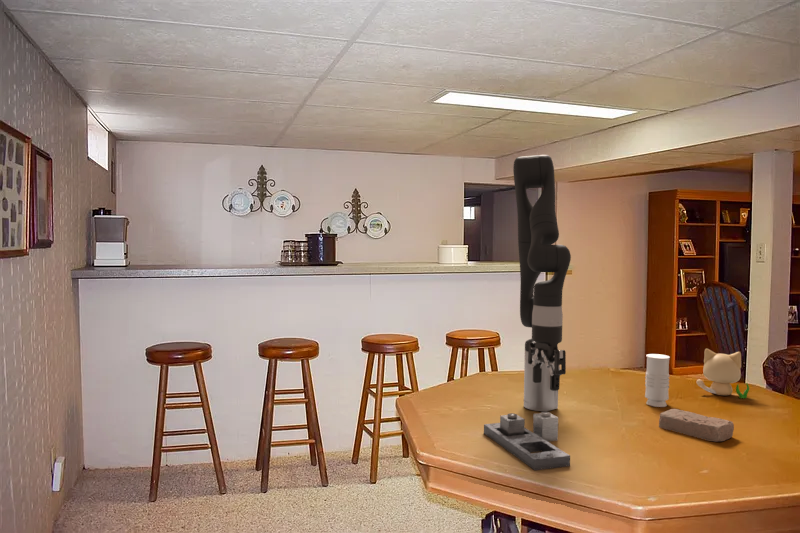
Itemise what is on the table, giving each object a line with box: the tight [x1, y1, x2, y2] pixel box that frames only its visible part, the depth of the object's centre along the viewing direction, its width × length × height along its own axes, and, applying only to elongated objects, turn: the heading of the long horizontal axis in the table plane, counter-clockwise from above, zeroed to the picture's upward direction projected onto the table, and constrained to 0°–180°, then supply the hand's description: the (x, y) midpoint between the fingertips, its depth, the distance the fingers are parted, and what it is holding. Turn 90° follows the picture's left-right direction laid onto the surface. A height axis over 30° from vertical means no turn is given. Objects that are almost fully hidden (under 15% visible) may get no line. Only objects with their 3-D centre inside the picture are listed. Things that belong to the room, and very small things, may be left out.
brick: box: [658, 408, 735, 443], centre depth 162 cm, size 17×8×5 cm, turn 38°
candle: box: [644, 353, 671, 408], centre depth 188 cm, size 7×7×15 cm
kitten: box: [696, 348, 750, 399], centre depth 200 cm, size 15×10×15 cm
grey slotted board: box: [483, 422, 571, 471], centre depth 149 cm, size 9×26×2 cm, turn 18°
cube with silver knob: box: [532, 411, 559, 443], centre depth 156 cm, size 4×4×7 cm
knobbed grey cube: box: [499, 412, 526, 436], centre depth 155 cm, size 4×4×7 cm
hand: (545, 386), depth 156 cm, fingers open, 8 cm apart
